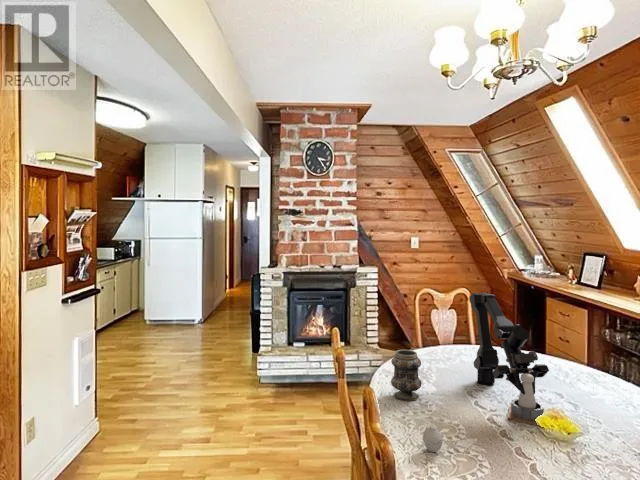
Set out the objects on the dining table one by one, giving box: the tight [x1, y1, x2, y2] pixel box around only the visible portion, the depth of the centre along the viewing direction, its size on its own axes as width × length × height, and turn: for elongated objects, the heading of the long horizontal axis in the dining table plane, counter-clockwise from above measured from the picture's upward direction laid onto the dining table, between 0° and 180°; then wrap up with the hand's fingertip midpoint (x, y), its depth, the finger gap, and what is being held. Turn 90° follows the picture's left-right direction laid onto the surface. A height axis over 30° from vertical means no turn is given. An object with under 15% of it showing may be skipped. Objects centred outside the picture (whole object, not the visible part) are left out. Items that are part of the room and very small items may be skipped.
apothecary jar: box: [390, 349, 422, 402], centre depth 173 cm, size 12×12×18 cm
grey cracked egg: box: [422, 425, 444, 453], centre depth 131 cm, size 6×7×7 cm
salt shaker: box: [518, 374, 536, 409], centre depth 153 cm, size 6×6×13 cm
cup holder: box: [507, 398, 547, 427], centre depth 153 cm, size 12×12×4 cm
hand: (529, 393), depth 152 cm, fingers closed on salt shaker, 3 cm apart
